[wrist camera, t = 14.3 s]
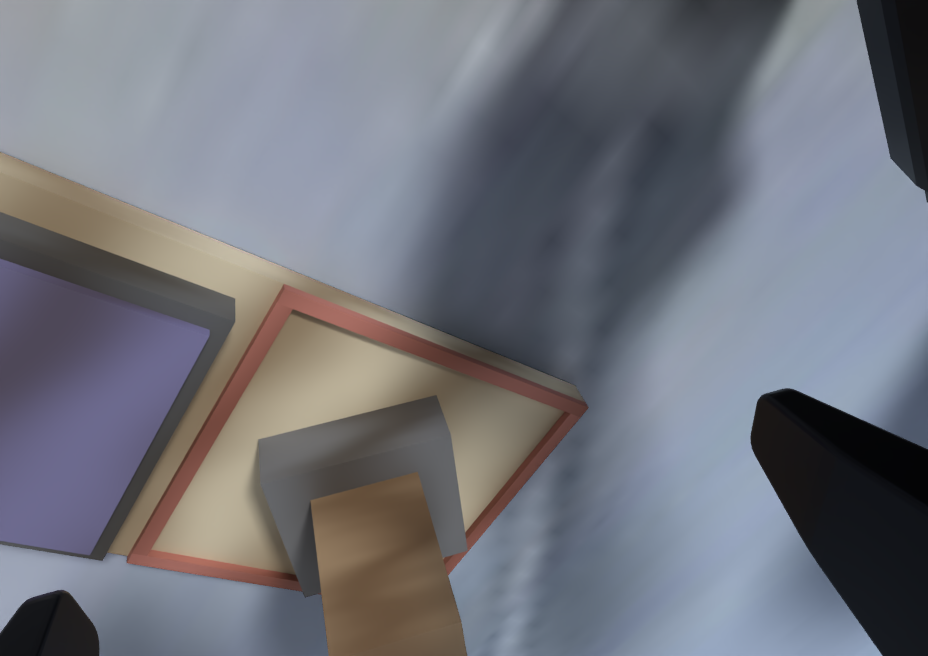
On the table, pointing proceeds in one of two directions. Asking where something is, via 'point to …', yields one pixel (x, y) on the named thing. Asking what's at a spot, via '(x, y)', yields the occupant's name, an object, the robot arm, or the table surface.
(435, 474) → the stamp
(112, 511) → the board
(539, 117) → the table surface
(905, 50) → the robot arm
